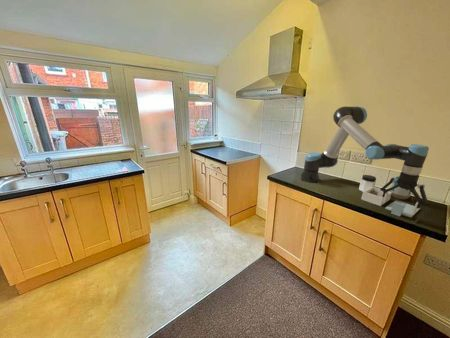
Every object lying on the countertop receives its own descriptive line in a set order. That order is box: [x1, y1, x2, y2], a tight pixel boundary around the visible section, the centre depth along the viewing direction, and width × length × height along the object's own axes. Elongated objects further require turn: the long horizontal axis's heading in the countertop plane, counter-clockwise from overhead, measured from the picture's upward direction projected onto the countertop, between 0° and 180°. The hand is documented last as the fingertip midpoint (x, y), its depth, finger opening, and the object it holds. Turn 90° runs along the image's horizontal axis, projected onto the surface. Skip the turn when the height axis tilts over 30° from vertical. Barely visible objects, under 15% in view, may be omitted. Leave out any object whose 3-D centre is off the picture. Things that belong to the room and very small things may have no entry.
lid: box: [385, 199, 421, 218], centre depth 115 cm, size 12×22×8 cm, turn 124°
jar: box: [358, 174, 377, 193], centre depth 141 cm, size 9×8×12 cm
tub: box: [360, 186, 392, 207], centre depth 128 cm, size 11×16×6 cm
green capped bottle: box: [390, 175, 413, 201], centre depth 130 cm, size 11×11×19 cm
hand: (398, 207), depth 110 cm, fingers open, 13 cm apart
